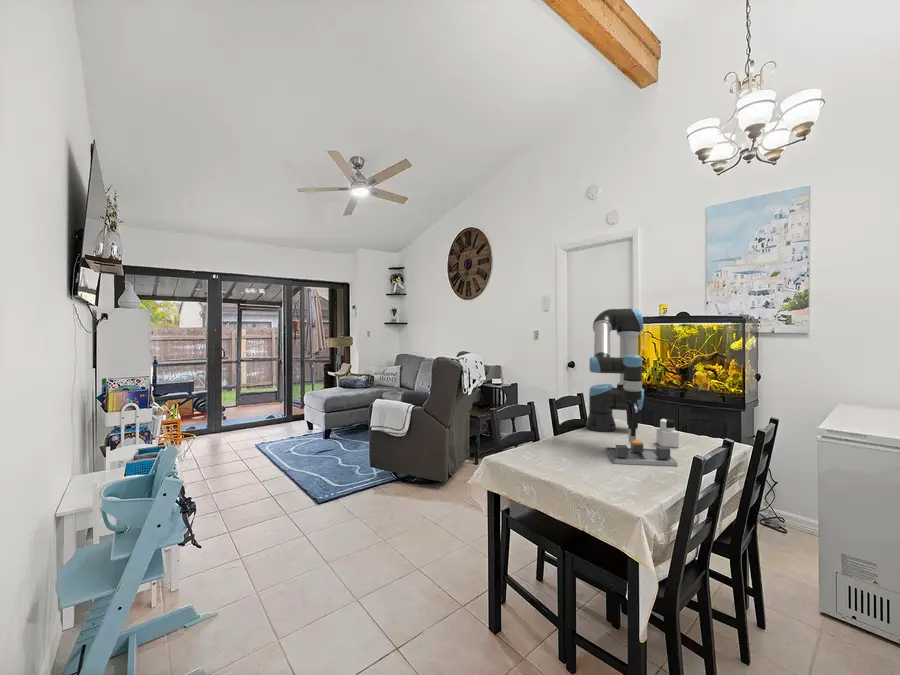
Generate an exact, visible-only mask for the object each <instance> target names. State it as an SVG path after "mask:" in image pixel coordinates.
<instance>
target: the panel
mask: <svg viewBox="0 0 900 675" xmlns="http://www.w3.org/2000/svg"><path fill="white" fill-rule="evenodd" d="M604 451H605V453H606V454H607V456H608V457H609V459H610V460H611V461H612V463H613V464H615V465H635V466H636V465H642V466H643V465H644V466H667V467H678V466H679V465H678V462H677V461H676V459H674V458H673V457H672V456H671V455H670V459H659V458H658V457H657V456H656V448H643V452H633V451H632V450H631V447H628V458H623V457H617V455H616V447H604Z"/></svg>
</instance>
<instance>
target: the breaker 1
mask: <svg viewBox="0 0 900 675" xmlns="http://www.w3.org/2000/svg"><path fill="white" fill-rule="evenodd" d="M615 448H616V455H617V457H623V458H628V448H629V446H627V445H626V444H615Z"/></svg>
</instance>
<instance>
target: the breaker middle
mask: <svg viewBox="0 0 900 675" xmlns="http://www.w3.org/2000/svg"><path fill="white" fill-rule="evenodd" d="M630 448H631V450H632V451H633V452H643V449H644V442H643V441H642V440H640V439H639V440H638V439H636V440H631V443H630Z"/></svg>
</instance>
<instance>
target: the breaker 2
mask: <svg viewBox="0 0 900 675" xmlns="http://www.w3.org/2000/svg"><path fill="white" fill-rule="evenodd" d="M655 449H656V456H657V457H658V458H659V459H670V456H671V449H670V447H667V446H660V445H656V446H655Z"/></svg>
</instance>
